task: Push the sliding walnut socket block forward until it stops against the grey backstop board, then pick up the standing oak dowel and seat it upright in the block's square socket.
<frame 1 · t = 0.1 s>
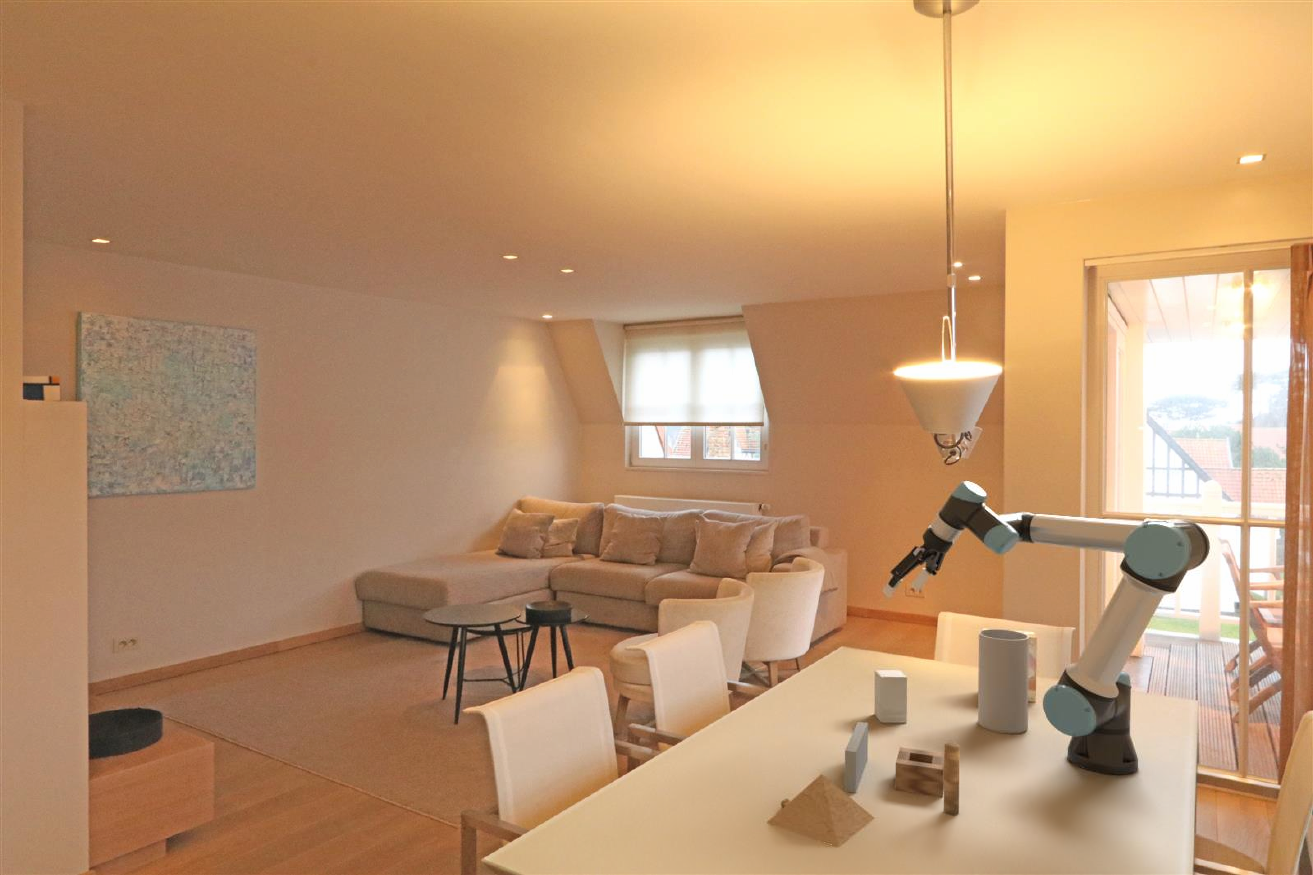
hand: (900, 591, 233), 36 cm above the table, tool tilted 35°, fingers open, 13 cm apart
backstop: (856, 774, 197), on the table
supplement box: (890, 719, 236), on the table
coffeecake box: (1008, 697, 256), on the table
block: (920, 771, 192), point 3 cm above the table, slide at 0.0 cm
dowel: (951, 811, 178), on the table
cylinder vase: (1002, 727, 230), on the table
model pyramid: (819, 823, 174), on the table
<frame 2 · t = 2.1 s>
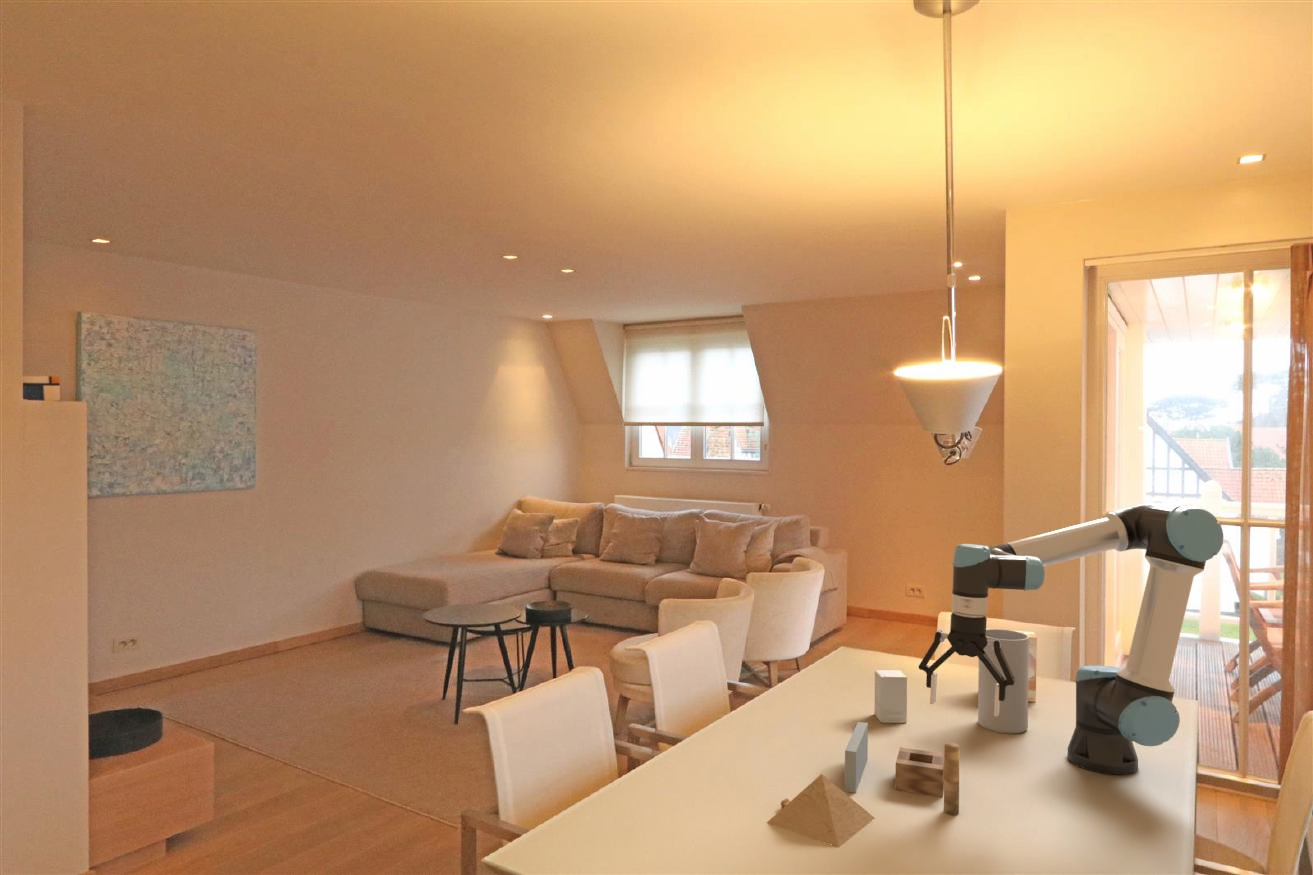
hand: (964, 708, 190), 18 cm above the table, tool pointing down, fingers open, 13 cm apart
nothing on the table moved.
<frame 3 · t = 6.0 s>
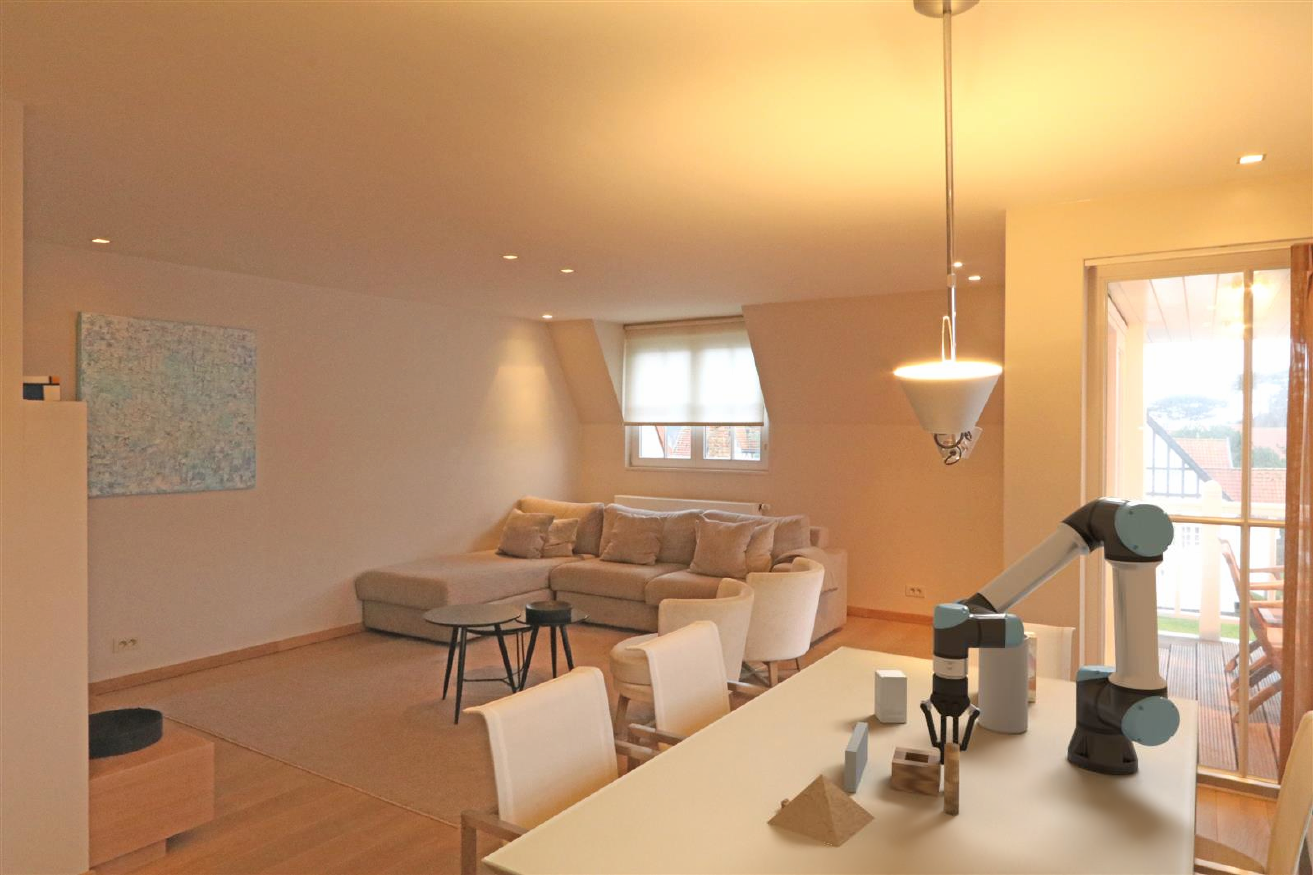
hand: (948, 779, 189), 2 cm above the table, tool pointing down, fingers closed
block: (916, 770, 192), point 3 cm above the table, slide at 0.9 cm, touching gripper
everything else where it was.
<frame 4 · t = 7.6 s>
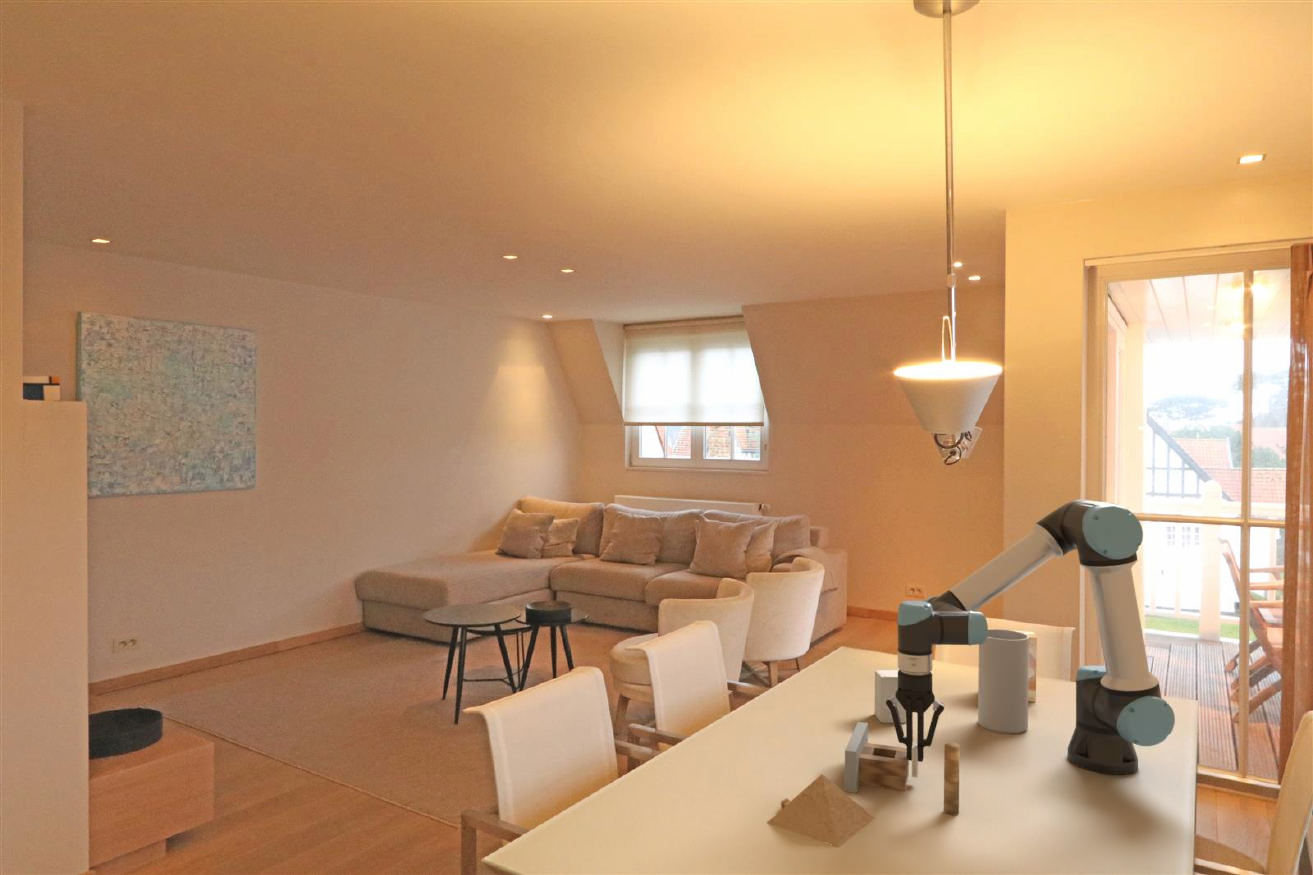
hand: (915, 774, 192), 2 cm above the table, tool pointing down, fingers closed
block: (884, 766, 195), point 3 cm above the table, slide at 8.0 cm, touching gripper
everything else where it was.
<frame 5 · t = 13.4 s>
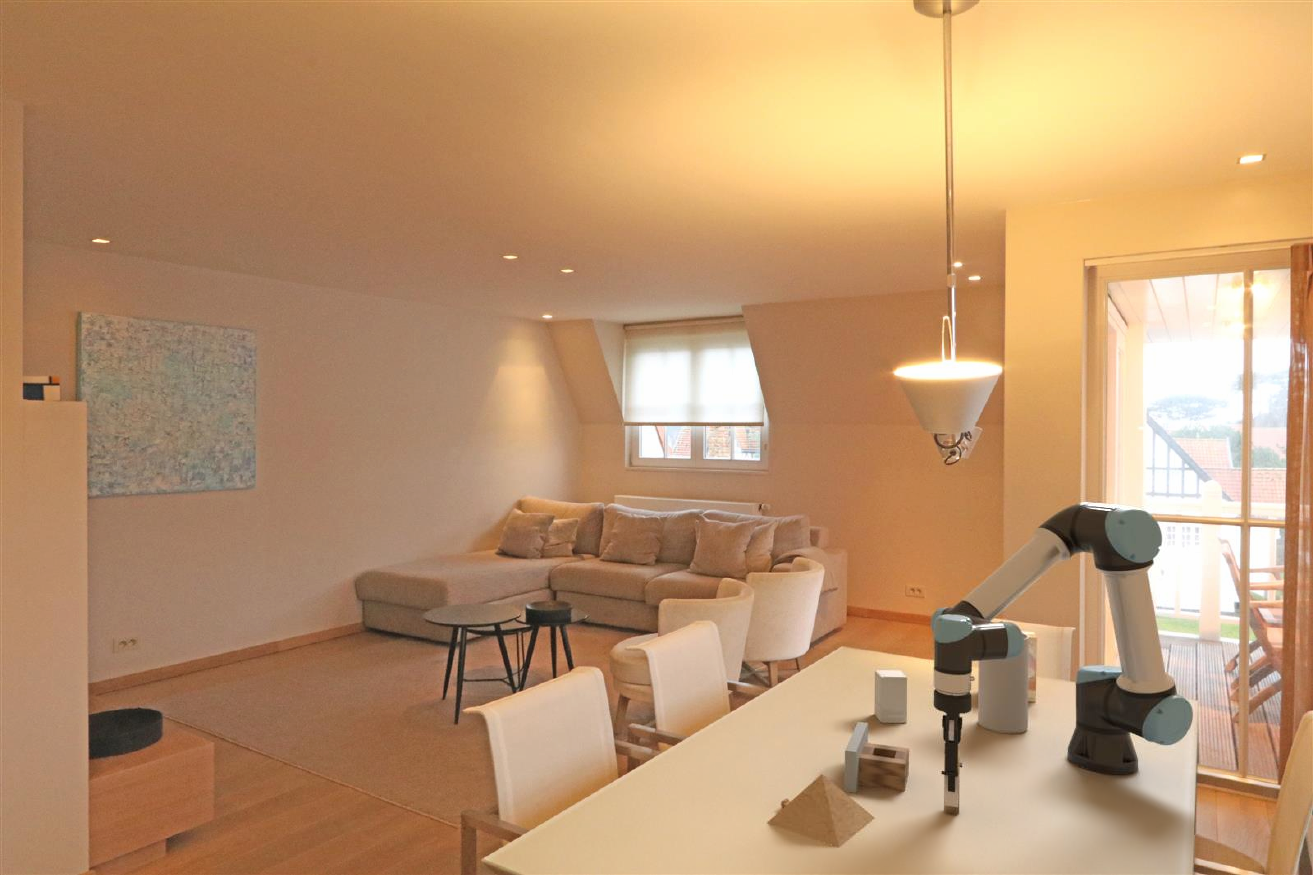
hand: (951, 801, 178), 2 cm above the table, tool pointing down, fingers closed on dowel, 3 cm apart
block: (884, 766, 195), point 3 cm above the table, slide at 8.0 cm
dowel: (951, 811, 178), on the table, touching gripper
everything else where it was.
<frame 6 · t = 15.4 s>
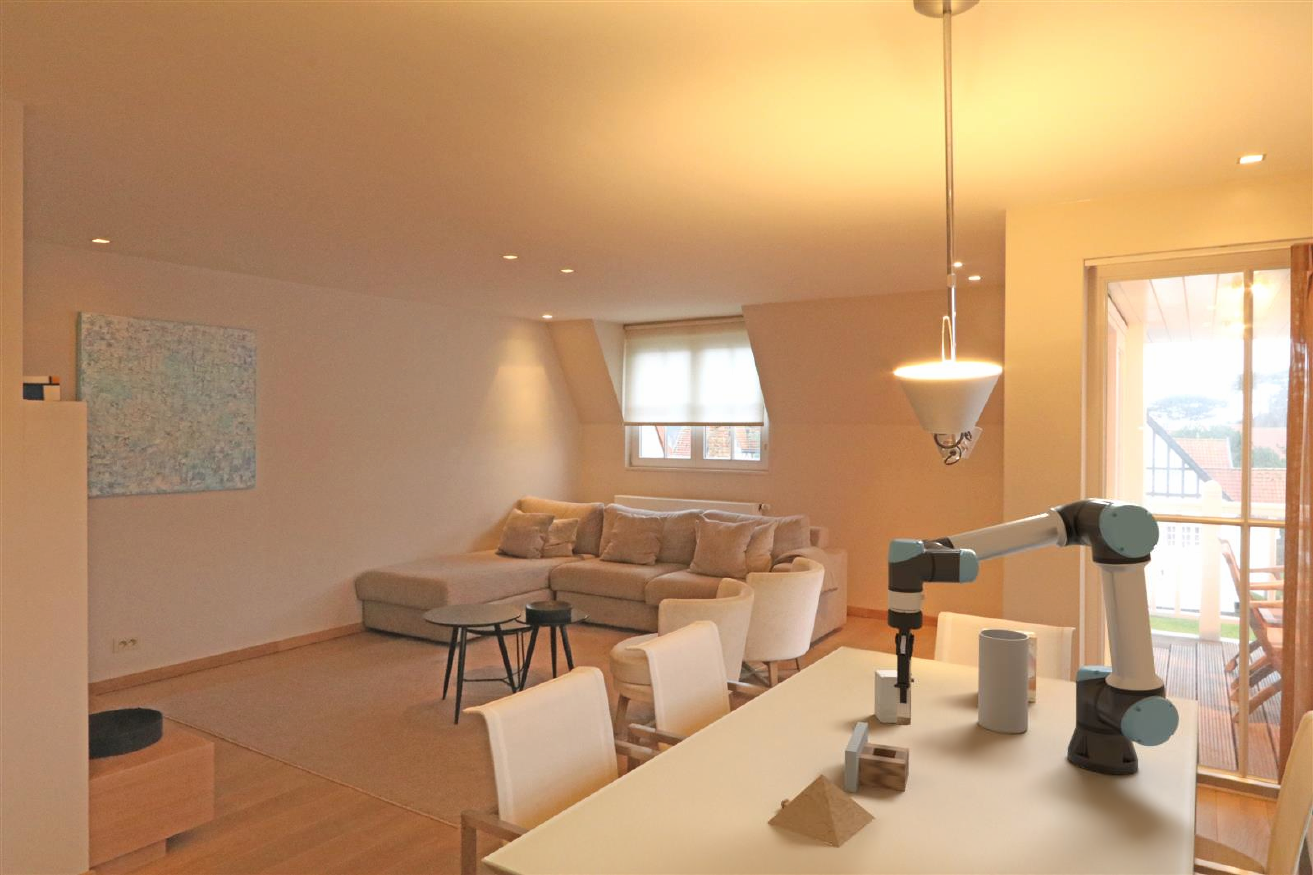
hand: (903, 713, 189), 17 cm above the table, tool pointing down, fingers closed on dowel, 3 cm apart
dowel: (903, 723, 189), point 15 cm above the table, touching gripper
everything else where it was.
when the fingers open (7 cm above the table, at t = 17.8 s): dowel drops 1 cm, resting on block.
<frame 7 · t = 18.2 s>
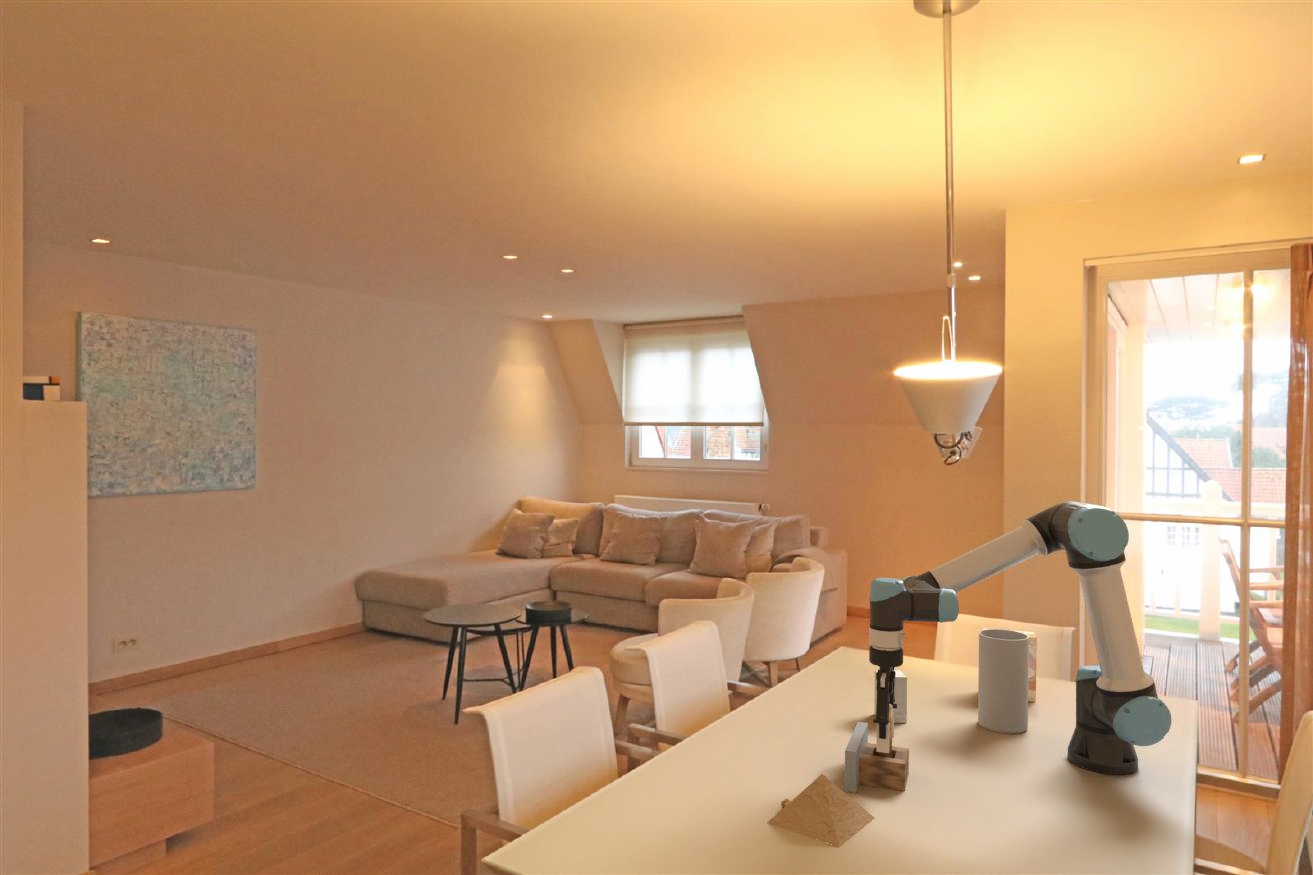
hand: (885, 744, 195), 8 cm above the table, tool pointing down, fingers open, 9 cm apart
block: (884, 766, 195), point 3 cm above the table, slide at 8.0 cm, touching dowel
dowel: (885, 766, 195), point 3 cm above the table, touching block
everything else where it was.
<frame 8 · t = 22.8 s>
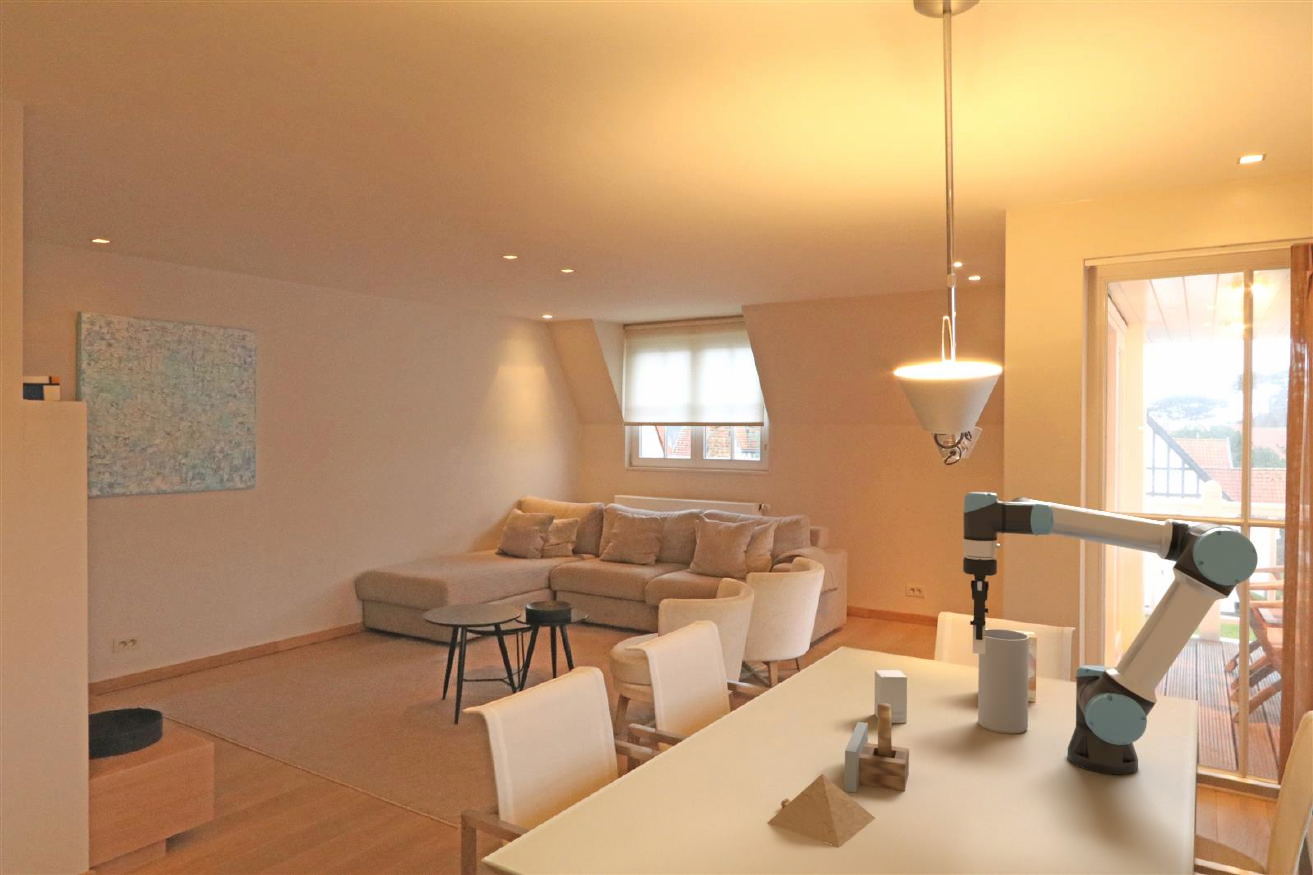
hand: (979, 646, 202), 29 cm above the table, tool pointing down, fingers open, 13 cm apart
nothing on the table moved.
at the end: block slide at 8.0 cm; dowel 0.2 cm off-centre on the block, point 3.0 cm above the block's base; dowel tilted 1° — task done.
